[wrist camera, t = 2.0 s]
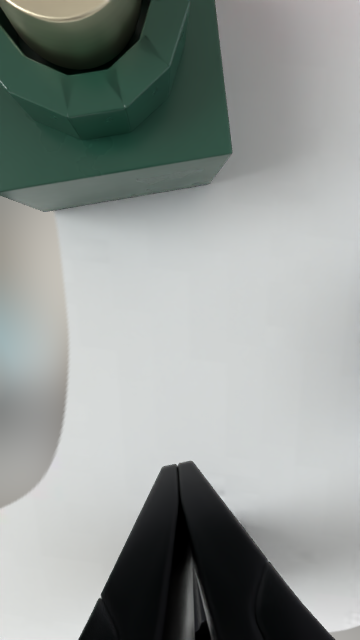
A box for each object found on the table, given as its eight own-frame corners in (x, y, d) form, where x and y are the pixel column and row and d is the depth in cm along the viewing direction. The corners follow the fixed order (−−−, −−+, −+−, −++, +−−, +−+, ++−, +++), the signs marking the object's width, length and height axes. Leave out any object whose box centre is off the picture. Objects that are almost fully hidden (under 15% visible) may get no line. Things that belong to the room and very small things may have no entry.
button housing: (209, 184, 17) (247, 134, 10) (44, 212, 17) (-41, 181, 10) (182, -21, 15) (204, -278, 8) (-11, 7, 15) (-176, -235, 7)
